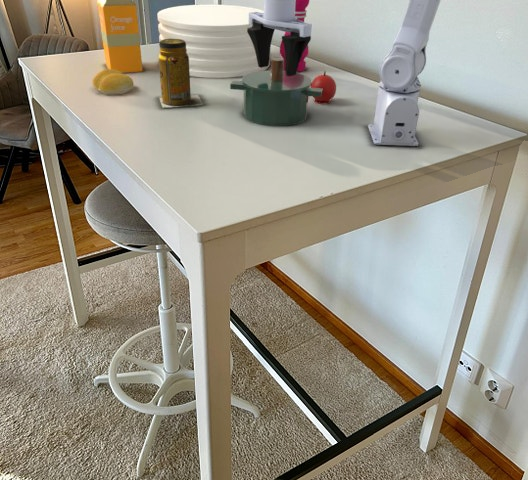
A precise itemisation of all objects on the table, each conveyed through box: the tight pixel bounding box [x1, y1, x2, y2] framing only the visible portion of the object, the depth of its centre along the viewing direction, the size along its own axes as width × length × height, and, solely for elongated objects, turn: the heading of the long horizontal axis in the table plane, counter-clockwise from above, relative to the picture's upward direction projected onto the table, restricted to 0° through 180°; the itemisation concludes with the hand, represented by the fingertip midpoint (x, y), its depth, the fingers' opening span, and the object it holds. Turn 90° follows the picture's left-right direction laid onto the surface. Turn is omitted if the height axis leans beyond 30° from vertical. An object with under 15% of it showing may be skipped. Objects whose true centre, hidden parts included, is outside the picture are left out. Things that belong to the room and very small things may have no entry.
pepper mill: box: [279, 0, 310, 73], centre depth 133 cm, size 7×7×20 cm
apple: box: [310, 70, 337, 105], centre depth 116 cm, size 6×6×6 cm
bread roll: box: [92, 68, 134, 96], centre depth 120 cm, size 8×9×4 cm
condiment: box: [158, 39, 204, 108], centre depth 112 cm, size 7×8×12 cm
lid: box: [241, 57, 313, 93], centre depth 105 cm, size 14×14×5 cm
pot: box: [229, 80, 323, 127], centre depth 108 cm, size 13×18×6 cm
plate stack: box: [157, 4, 271, 79], centre depth 138 cm, size 28×28×12 cm
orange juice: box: [96, 0, 144, 74], centre depth 130 cm, size 8×9×20 cm
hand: (276, 70), depth 105 cm, fingers open, 7 cm apart
